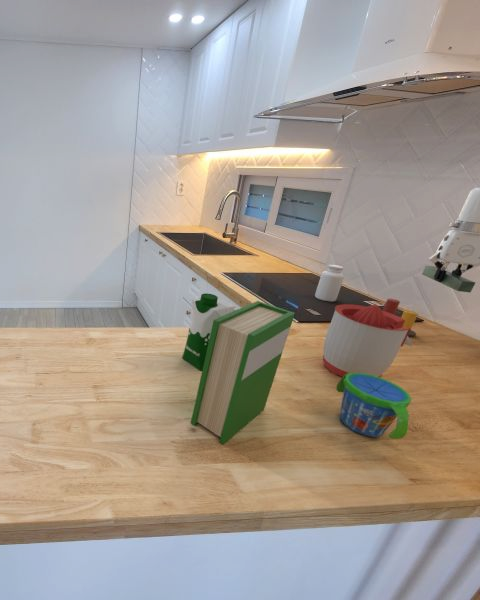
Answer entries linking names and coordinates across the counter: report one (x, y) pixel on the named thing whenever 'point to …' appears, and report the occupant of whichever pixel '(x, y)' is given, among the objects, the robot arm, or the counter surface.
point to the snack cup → (373, 405)
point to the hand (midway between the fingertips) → (444, 281)
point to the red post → (391, 306)
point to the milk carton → (203, 327)
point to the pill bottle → (330, 283)
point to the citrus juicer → (363, 340)
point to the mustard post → (409, 321)
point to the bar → (451, 280)
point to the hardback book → (240, 367)
